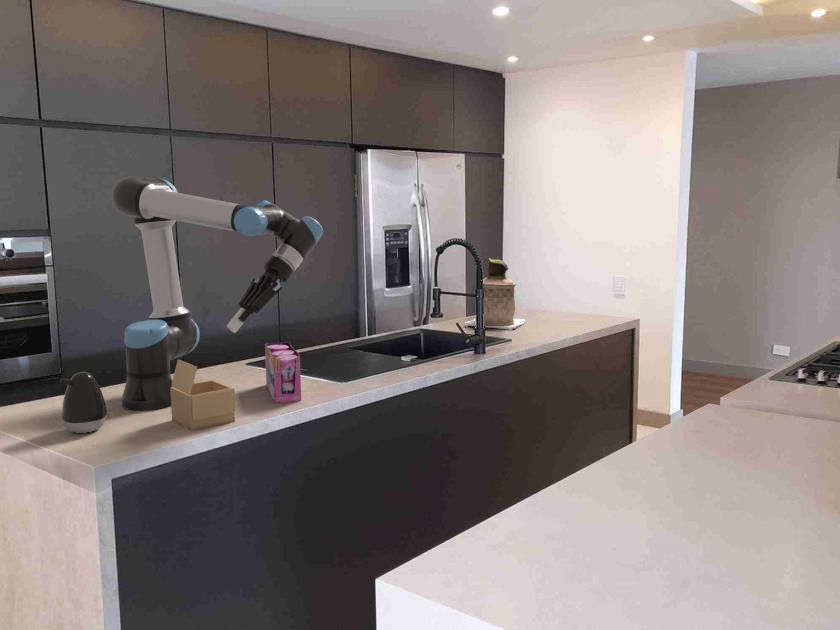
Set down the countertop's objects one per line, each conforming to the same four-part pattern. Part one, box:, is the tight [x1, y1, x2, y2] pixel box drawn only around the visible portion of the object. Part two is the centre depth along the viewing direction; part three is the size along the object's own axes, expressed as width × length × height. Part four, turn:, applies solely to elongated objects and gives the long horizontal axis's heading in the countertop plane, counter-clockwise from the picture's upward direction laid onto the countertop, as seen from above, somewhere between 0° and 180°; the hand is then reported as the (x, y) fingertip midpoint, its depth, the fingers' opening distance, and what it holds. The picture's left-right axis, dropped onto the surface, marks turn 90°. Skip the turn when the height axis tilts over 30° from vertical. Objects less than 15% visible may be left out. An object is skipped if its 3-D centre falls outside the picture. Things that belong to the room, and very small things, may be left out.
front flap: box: [171, 359, 198, 394], centre depth 184 cm, size 11×7×1 cm
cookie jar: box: [464, 257, 526, 331], centre depth 339 cm, size 25×25×32 cm
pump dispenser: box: [59, 371, 108, 434], centre depth 180 cm, size 10×10×15 cm
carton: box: [170, 379, 236, 432], centre depth 189 cm, size 13×12×9 cm
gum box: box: [264, 341, 302, 404], centre depth 216 cm, size 24×8×14 cm, turn 19°
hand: (230, 329), depth 191 cm, fingers closed
